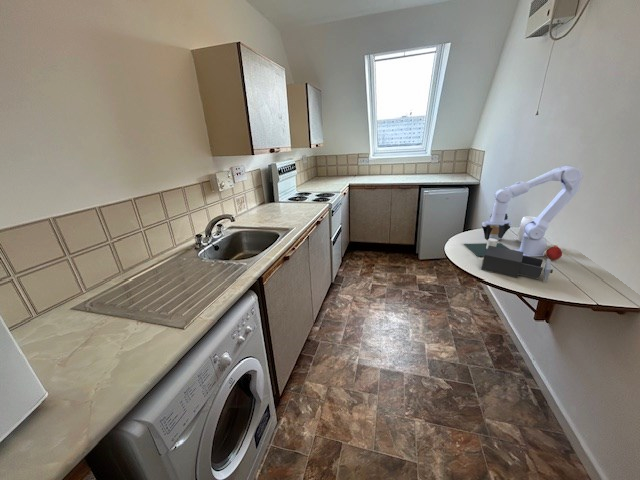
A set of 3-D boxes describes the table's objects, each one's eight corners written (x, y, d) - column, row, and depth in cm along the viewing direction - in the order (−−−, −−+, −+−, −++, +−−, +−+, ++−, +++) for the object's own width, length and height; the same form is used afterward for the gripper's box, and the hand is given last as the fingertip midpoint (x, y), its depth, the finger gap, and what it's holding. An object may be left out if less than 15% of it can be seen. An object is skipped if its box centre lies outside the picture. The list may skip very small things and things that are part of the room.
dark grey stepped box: (519, 266, 123) (523, 251, 120) (517, 278, 114) (521, 262, 111) (485, 259, 131) (488, 245, 128) (481, 269, 122) (484, 254, 119)
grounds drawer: (550, 272, 116) (554, 260, 114) (550, 283, 108) (554, 270, 106) (512, 263, 124) (515, 252, 122) (510, 273, 116) (513, 262, 114)
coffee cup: (505, 240, 151) (511, 215, 145) (490, 241, 151) (496, 216, 146) (497, 235, 159) (502, 211, 153) (482, 236, 159) (487, 211, 153)
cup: (538, 245, 144) (546, 220, 139) (524, 246, 144) (530, 221, 138) (526, 239, 152) (532, 215, 147) (512, 240, 152) (518, 216, 146)
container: (496, 248, 141) (498, 239, 140) (494, 250, 139) (496, 242, 137) (487, 246, 145) (489, 237, 143) (484, 248, 142) (486, 240, 140)
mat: (500, 243, 148) (500, 243, 148) (519, 256, 133) (519, 255, 133) (463, 244, 149) (463, 243, 149) (478, 257, 134) (478, 256, 134)
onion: (551, 257, 131) (555, 242, 128) (562, 262, 126) (568, 246, 122) (540, 258, 130) (545, 243, 127) (552, 263, 125) (557, 248, 122)
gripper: (490, 216, 130) (485, 242, 135) (518, 214, 131) (511, 240, 136) (481, 212, 136) (476, 237, 142) (507, 210, 138) (501, 235, 143)
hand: (493, 238), depth 139 cm, fingers open, 7 cm apart
